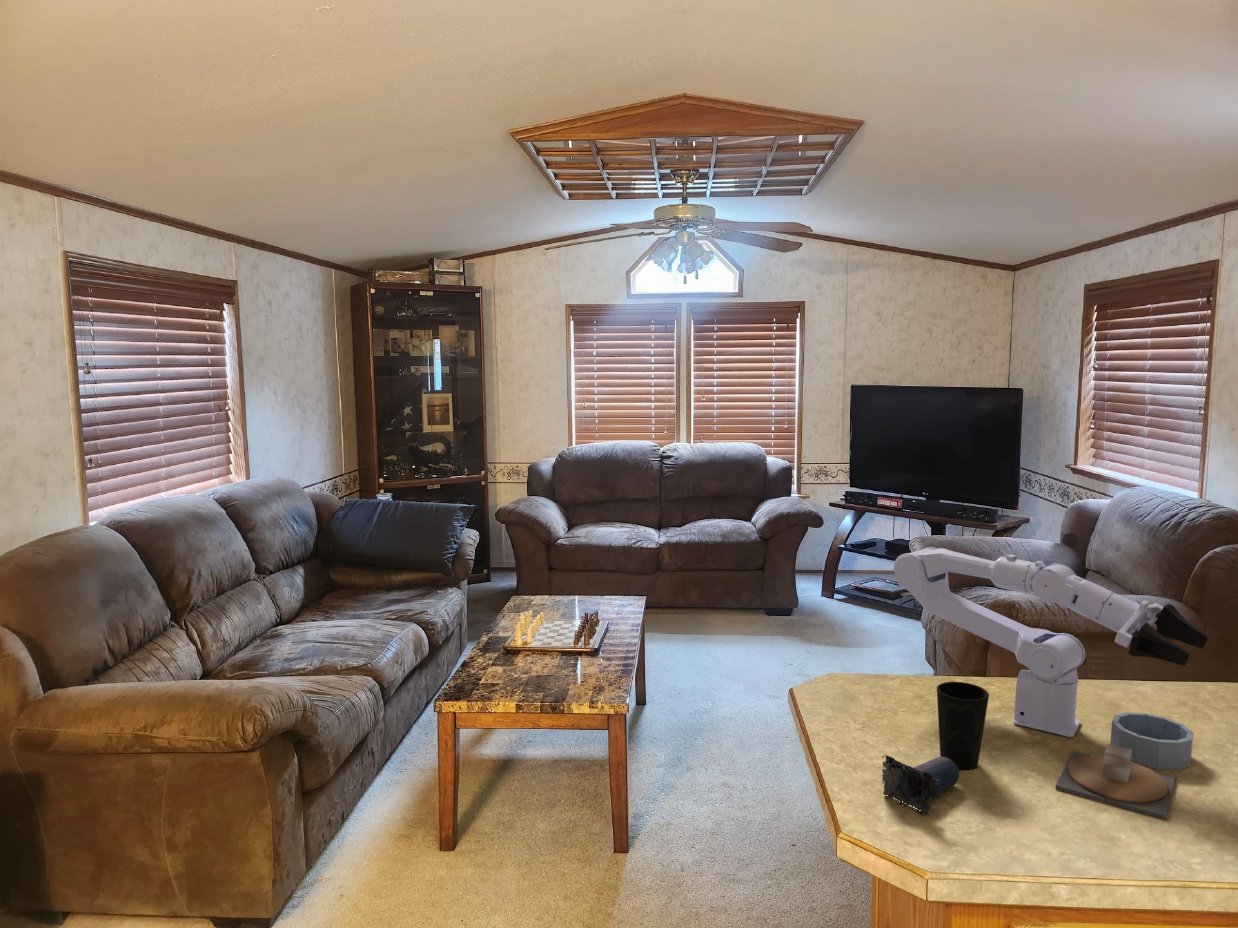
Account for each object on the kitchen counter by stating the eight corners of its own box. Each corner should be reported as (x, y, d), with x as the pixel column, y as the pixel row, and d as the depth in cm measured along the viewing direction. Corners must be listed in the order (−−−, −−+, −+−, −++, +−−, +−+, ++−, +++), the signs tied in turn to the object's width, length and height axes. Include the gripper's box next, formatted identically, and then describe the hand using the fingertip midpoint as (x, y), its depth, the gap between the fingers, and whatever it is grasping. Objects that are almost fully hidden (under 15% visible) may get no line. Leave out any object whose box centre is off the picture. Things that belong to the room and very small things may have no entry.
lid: (1060, 785, 126) (1062, 754, 126) (1075, 752, 137) (1077, 724, 136) (1162, 813, 118) (1165, 780, 118) (1170, 776, 129) (1173, 746, 128)
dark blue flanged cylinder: (924, 827, 119) (965, 802, 127) (938, 780, 117) (978, 757, 125) (870, 791, 125) (912, 769, 133) (882, 746, 123) (924, 726, 131)
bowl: (1106, 755, 137) (1108, 729, 136) (1116, 731, 145) (1117, 707, 145) (1187, 776, 130) (1190, 748, 129) (1192, 749, 139) (1195, 723, 138)
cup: (985, 756, 137) (989, 685, 135) (984, 777, 130) (988, 703, 128) (935, 747, 140) (938, 678, 138) (931, 767, 133) (934, 695, 131)
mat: (1055, 788, 126) (1055, 785, 126) (1072, 753, 137) (1072, 750, 137) (1166, 819, 118) (1166, 815, 118) (1174, 779, 129) (1175, 776, 129)
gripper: (1095, 601, 134) (1188, 646, 124) (1133, 575, 142) (1223, 614, 133) (1081, 638, 137) (1171, 684, 127) (1120, 609, 145) (1207, 650, 136)
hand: (1197, 651), depth 130 cm, fingers open, 7 cm apart
